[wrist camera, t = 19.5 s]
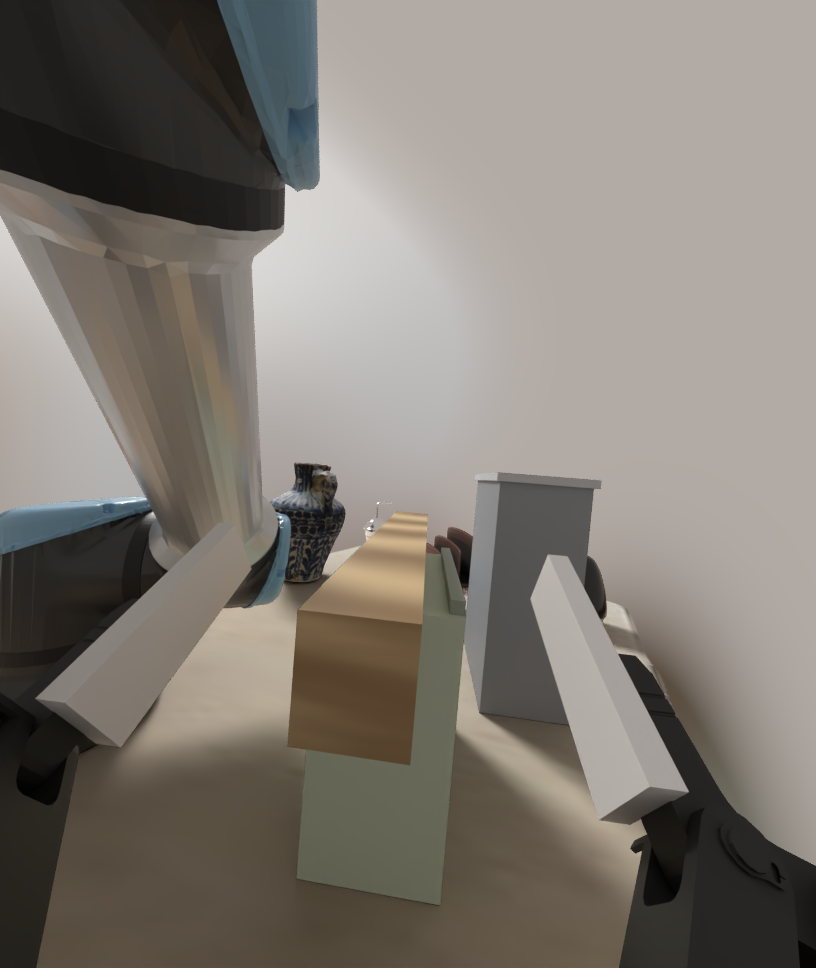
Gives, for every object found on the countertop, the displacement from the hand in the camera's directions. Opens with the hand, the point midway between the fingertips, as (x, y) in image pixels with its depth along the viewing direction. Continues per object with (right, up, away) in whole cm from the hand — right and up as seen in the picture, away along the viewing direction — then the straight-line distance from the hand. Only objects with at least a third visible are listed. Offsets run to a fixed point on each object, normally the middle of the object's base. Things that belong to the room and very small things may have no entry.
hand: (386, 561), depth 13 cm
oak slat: (0, -5, +11) cm, 12 cm away
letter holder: (+12, -25, +75) cm, 80 cm away
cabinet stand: (+16, -25, +31) cm, 43 cm away
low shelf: (-1, -24, +15) cm, 29 cm away
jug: (-27, -21, +64) cm, 72 cm away
